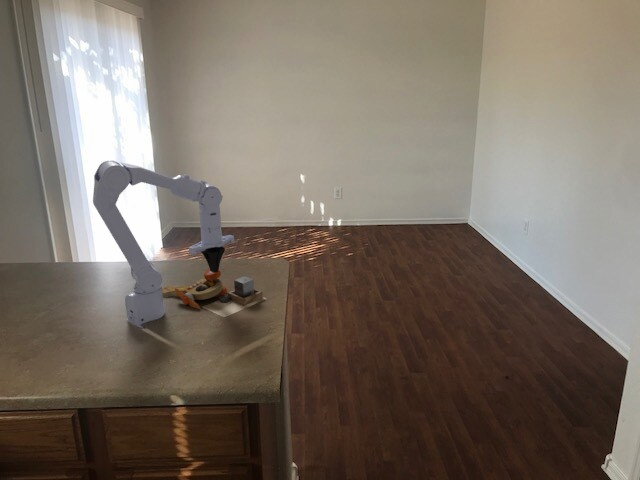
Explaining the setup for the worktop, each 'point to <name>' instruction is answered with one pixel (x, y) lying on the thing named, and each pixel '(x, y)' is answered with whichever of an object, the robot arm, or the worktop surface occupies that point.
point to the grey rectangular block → (244, 287)
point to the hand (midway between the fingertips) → (214, 271)
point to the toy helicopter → (198, 289)
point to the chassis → (234, 303)
